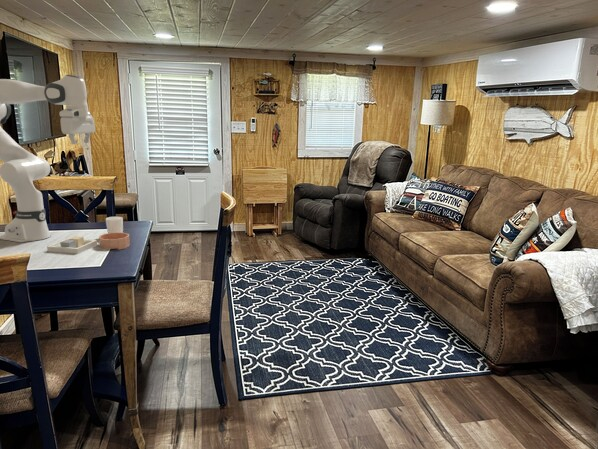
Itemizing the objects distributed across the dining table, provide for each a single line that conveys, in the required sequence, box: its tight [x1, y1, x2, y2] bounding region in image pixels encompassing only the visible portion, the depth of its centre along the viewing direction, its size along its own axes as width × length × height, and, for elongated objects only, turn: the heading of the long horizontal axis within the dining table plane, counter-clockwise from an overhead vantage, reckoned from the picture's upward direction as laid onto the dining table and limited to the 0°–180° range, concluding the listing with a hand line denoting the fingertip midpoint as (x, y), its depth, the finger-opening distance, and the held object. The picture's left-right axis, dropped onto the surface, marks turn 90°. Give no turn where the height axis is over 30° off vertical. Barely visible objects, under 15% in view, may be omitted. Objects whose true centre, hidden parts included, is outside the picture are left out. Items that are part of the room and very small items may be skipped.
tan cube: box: [69, 235, 85, 248], centre depth 208 cm, size 4×4×4 cm
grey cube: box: [59, 239, 76, 248], centre depth 202 cm, size 4×4×4 cm
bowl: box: [98, 232, 131, 251], centre depth 212 cm, size 13×13×5 cm
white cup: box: [105, 216, 124, 233], centre depth 225 cm, size 8×8×10 cm
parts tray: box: [46, 237, 98, 255], centre depth 205 cm, size 15×14×3 cm
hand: (80, 143), depth 207 cm, fingers open, 8 cm apart
